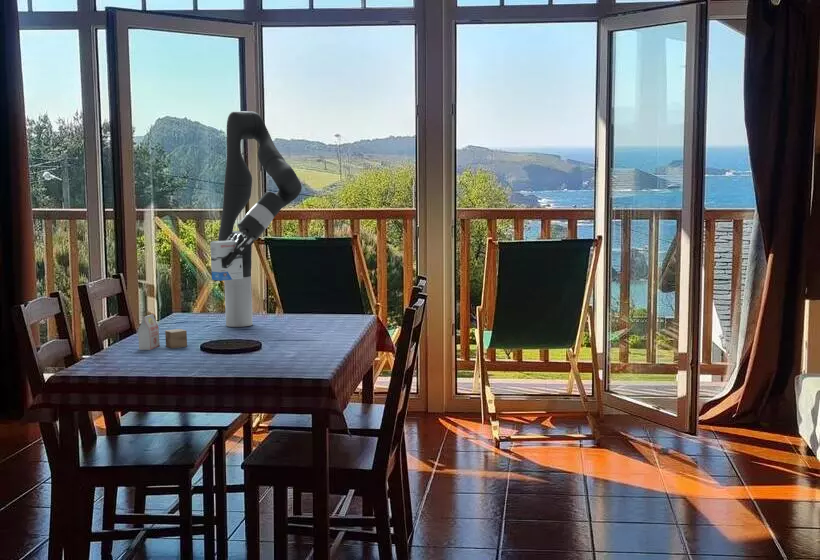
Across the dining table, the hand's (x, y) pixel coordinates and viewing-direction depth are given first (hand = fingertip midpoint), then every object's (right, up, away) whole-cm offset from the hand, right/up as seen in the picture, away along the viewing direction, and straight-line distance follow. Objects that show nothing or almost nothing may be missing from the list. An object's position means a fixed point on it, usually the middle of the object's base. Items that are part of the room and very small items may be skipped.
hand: (221, 262), depth 293 cm
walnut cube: (-15, -26, +5) cm, 30 cm away
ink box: (+2, -5, +2) cm, 6 cm away
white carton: (-23, -26, +4) cm, 35 cm away
